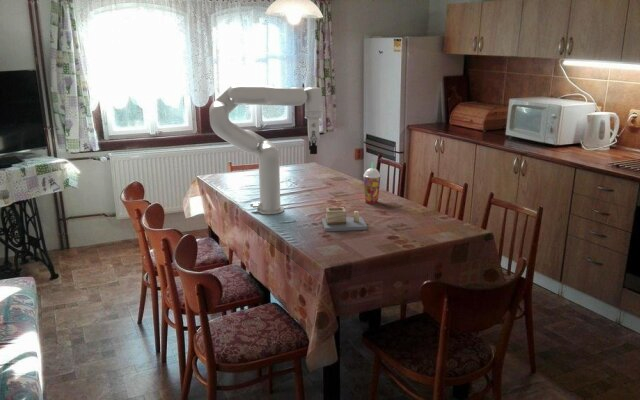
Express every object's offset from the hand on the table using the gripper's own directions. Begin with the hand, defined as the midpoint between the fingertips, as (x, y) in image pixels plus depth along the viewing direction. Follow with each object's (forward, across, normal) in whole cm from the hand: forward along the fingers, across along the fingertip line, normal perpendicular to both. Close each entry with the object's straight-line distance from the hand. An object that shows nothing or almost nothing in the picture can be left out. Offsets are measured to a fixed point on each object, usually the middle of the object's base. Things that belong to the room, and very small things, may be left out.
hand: (313, 151), depth 249 cm
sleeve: (+26, -27, -9) cm, 38 cm away
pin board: (+27, -26, -12) cm, 40 cm away
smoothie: (+27, +8, -30) cm, 41 cm away
